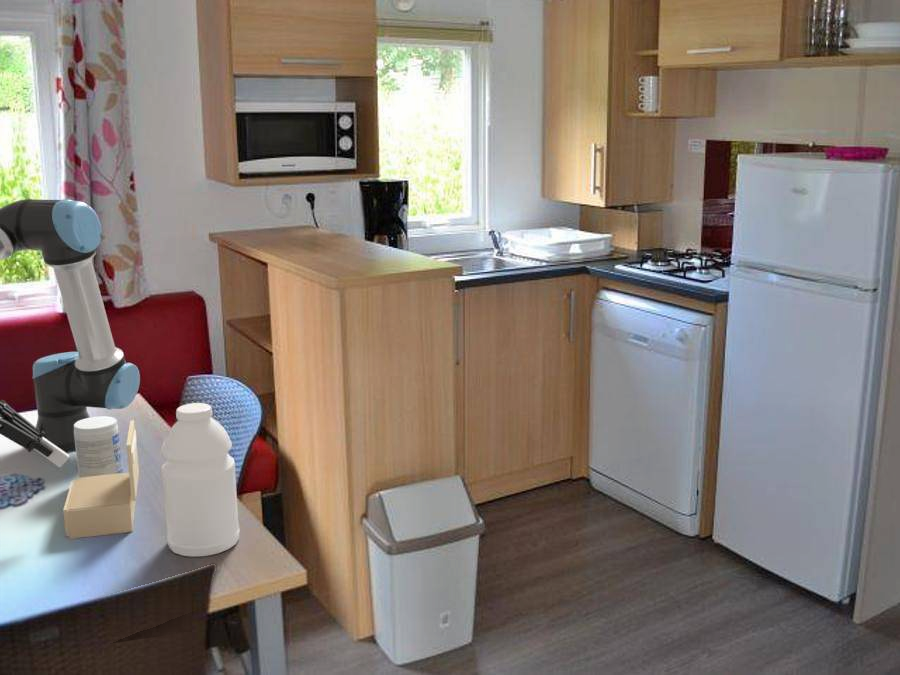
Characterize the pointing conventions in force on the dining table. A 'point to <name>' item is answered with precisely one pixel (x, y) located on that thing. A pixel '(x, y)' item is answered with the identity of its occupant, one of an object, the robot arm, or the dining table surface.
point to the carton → (99, 506)
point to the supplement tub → (97, 446)
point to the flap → (132, 459)
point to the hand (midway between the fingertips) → (64, 461)
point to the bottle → (199, 484)
